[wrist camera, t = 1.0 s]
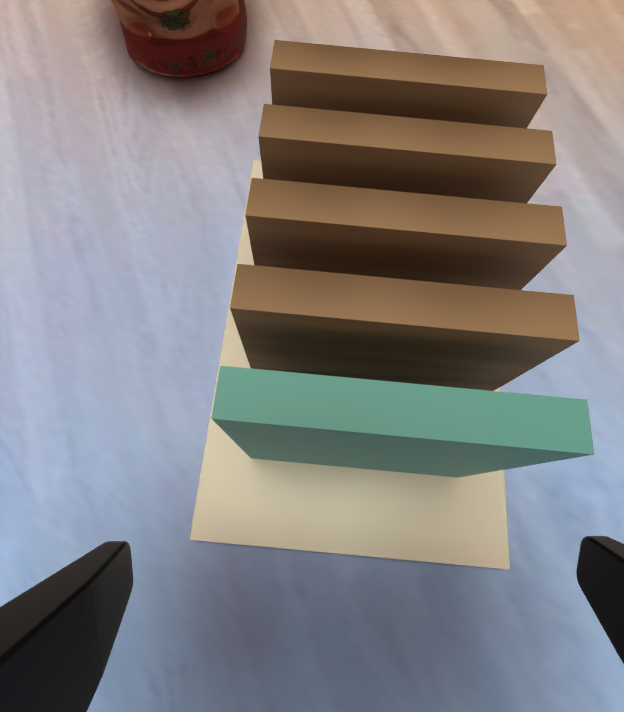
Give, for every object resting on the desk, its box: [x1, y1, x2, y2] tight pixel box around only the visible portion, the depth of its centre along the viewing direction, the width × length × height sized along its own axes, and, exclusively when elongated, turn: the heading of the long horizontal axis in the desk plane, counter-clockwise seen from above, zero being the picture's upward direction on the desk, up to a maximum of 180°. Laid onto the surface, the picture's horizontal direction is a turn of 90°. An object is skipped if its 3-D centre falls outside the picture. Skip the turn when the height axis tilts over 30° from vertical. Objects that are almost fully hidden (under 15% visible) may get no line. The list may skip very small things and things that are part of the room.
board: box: [189, 160, 510, 570], centre depth 26 cm, size 24×16×1 cm, turn 175°
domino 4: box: [211, 366, 594, 478], centre depth 18 cm, size 2×11×11 cm, turn 85°
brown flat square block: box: [245, 178, 567, 290], centre depth 20 cm, size 2×11×11 cm, turn 85°
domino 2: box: [259, 104, 556, 203], centre depth 21 cm, size 2×11×11 cm, turn 85°
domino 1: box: [270, 40, 547, 128], centre depth 22 cm, size 2×11×11 cm, turn 85°
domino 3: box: [230, 264, 579, 391], centre depth 19 cm, size 2×11×11 cm, turn 85°
